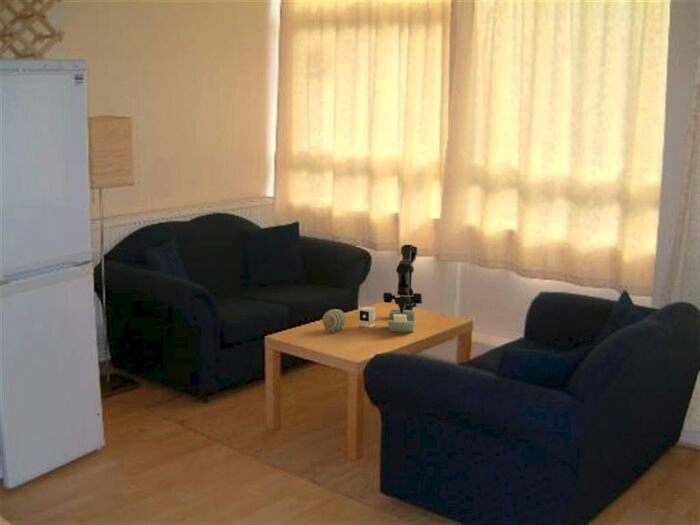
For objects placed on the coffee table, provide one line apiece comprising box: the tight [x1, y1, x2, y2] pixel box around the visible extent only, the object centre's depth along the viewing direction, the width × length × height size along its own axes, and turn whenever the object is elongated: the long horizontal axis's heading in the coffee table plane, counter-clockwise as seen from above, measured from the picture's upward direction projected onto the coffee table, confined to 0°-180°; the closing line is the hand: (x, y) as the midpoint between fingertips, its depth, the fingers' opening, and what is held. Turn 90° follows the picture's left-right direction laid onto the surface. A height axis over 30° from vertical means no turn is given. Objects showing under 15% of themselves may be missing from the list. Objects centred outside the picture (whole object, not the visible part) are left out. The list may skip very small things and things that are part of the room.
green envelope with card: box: [387, 314, 415, 333], centre depth 398 cm, size 1×12×13 cm
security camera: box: [358, 306, 376, 328], centre depth 412 cm, size 6×7×10 cm
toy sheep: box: [322, 308, 346, 335], centre depth 406 cm, size 11×17×11 cm, turn 153°
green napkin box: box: [388, 309, 416, 330], centre depth 406 cm, size 8×12×10 cm, turn 81°
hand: (401, 313), depth 400 cm, fingers closed
